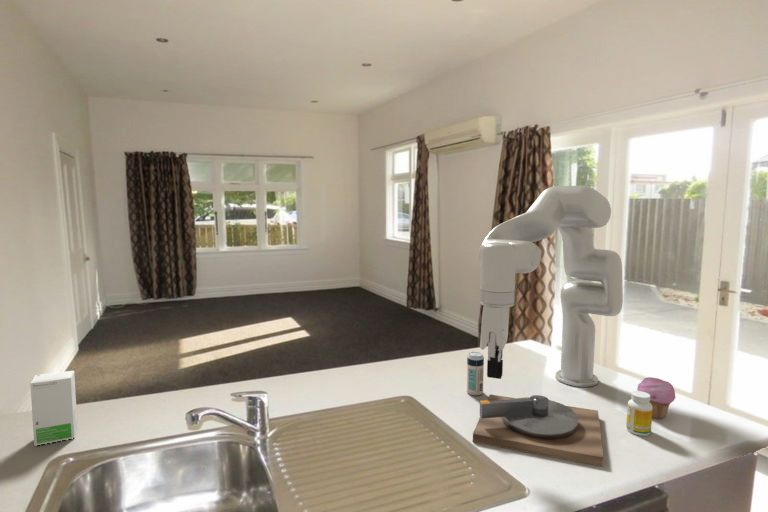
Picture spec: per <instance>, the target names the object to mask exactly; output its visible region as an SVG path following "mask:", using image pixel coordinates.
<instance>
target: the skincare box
mask: <svg viewBox="0 0 768 512" xmlns="http://www.w3.org/2000/svg"><path fill="white" fill-rule="evenodd" d="M75 379H76V378H75V370H66V371H55V372H49V373H43V374H42V373H40V374H35V375H34V376H33V378H32V380H31V382H30V399H31V401H30V402H31V414H32V415H31V416H32V430H33V444H34V447H38V446H37V445H40V446H42V445H41V444H45V445H48V444H47V443H50V444H53V443H52V442H56V443H58V442H57V441H61V442H63V441H62V440H66V441H68V440H67V439H72V438H74V439H75V438H76V435H77V431H78V414H77V413H78V411H77V399H76V398H77V397H76V396H77V395H76V394H77V393H76V381H75ZM72 440H73V439H72Z"/></svg>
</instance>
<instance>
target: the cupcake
mask: <svg viewBox="0 0 768 512" xmlns="http://www.w3.org/2000/svg"><path fill="white" fill-rule="evenodd" d="M636 391H642V392H646V393H648V394H649V395H650V403H651V404H652V407H653V410H652V419H663V418H665V417H667V414H668V410H669V406H670V405H671V404H672V403H673V402H674V401H675V399H676V390H675V388H674V385H673V384H672V383H670V382H669V381H666V380H663V379H660V378H656V377H650V376H648V377H644V379H642V381H641V382H640V383H638V384H637V390H636Z"/></svg>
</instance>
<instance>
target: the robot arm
mask: <svg viewBox="0 0 768 512" xmlns="http://www.w3.org/2000/svg"><path fill="white" fill-rule="evenodd" d="M611 215H612V208H611V204H610V202H609V200H608V198H606V197H605V196H604V195H603V194H601V193H600V192H599V191H598V190H597V189H594V188H593V187H590V186H587V185H557V186H551V187H548V188H546V189H544V190H543V191H542V192H540V194H539V195H538V197H537V198H536V199H535V201H534V202H533V203H532V204H531V205H530V207H529V208H528V210H526V212H524V213H522V214H519V215H517V216H515V217H512V218H510V219H508V220H506V221H504V222H502V223H499V224H498V225H496V226H495V227H493V229H491V231H489V233H488V234H487V235H486V236H485V237H484V240H482V242H481V244H480V246H479V249H478V256H477V257H478V262H479V264H480V282H479V283H480V287H479V289H480V290H479V304H480V305H481V306H483V308H482V316H481V326H480V327H481V328H480V342H479V347H480V350H482V351H483V350H484V349H486V348H487V362H486V363H487V366H486V371H487V372H486V377H487V378H492V379H499V380H501V379H502V377H503V372H504V371H503V367H504V364H503V363H504V360H503V355H504V354H503V350H504V349H505V346H506V344H507V342H508V337H509V336H508V335H509V320H510V319H509V317H510V308H511V307H514V306H515V297H516V296H515V294H516V293H515V290H516V274H529V273H532V272H534V271H535V270H536V269H538V267H539V266H540V263H541V259H542V251H541V249H540V248H539V246H538V245H537V243H535V242H538V241H542V240H545V239H548V238H549V237H551V236H552V235H553V234H554V232H555V231H556V230H557V229H558V231H559V233H560V234H561V238H562V252H563V253H562V254H563V267H564V272H565V274H566V276H567V277H569V278H571V279H574V280H572V281H567V282H566V283H564V284H563V285H562V287H561V289H560V294H559V297H560V303H561V310H562V312H561V313H562V331H561V353H560V354H561V358H560V369H559V370H557V371H556V372H555V375H554V376H555V378H556V380H557V381H559V382H560V383H562V384H565V385H568V386H573V387H580V388H581V387H583V388H587V387H588V388H589V387H590V388H591V387H593V386H596V385H598V384H599V377H598V376H597V375H595V374H594V367H595V364H594V362H595V346H596V345H595V344H596V325H595V322H594V320H593V318H592V317H591V315H597V316H598V315H599V316H603V317H604V316H605V317H616V316H618V315H619V314H620V312H621V311H622V308H623V303H624V302H623V301H624V300H623V299H624V298H623V297H624V291H623V290H624V289H623V286H624V285H623V263H622V258H621V256H620V255H619V253H617V252H616V251H614V250H610V249H600V248H599V249H598V248H595V246H594V234H593V230H592V229H593V228H594V229H598V228H603V227H605V226H606V225H607V224H608V223H609V221H610V219H611ZM590 281H591V282H590ZM599 282H600V283H599Z"/></svg>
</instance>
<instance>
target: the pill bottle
mask: <svg viewBox="0 0 768 512" xmlns="http://www.w3.org/2000/svg"><path fill="white" fill-rule="evenodd" d="M484 362H485V358H484V355H483V353H481V352H478V351H472V352H469V353H468V354H467V359H466V392H467V393H468V394H469V395H471V396H475V397H476V396H481V395H482V394H483V393H484V372H485V371H484V369H485V368H484V366H485V365H484V364H485V363H484Z"/></svg>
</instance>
